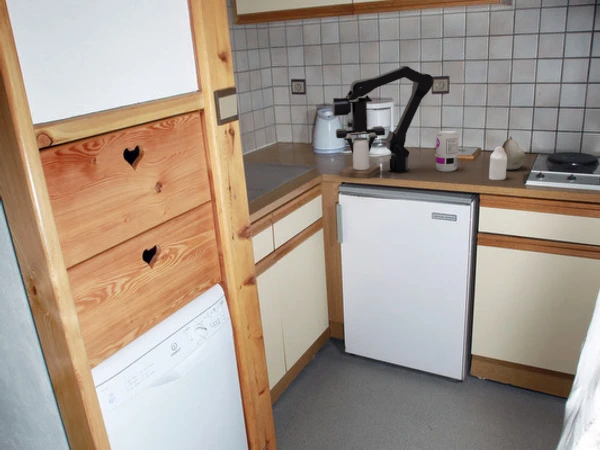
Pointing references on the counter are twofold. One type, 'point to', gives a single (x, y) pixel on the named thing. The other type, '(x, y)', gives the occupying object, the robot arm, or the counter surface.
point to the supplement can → (447, 150)
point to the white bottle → (498, 164)
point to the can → (361, 154)
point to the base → (360, 172)
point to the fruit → (513, 154)
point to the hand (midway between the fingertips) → (360, 153)
